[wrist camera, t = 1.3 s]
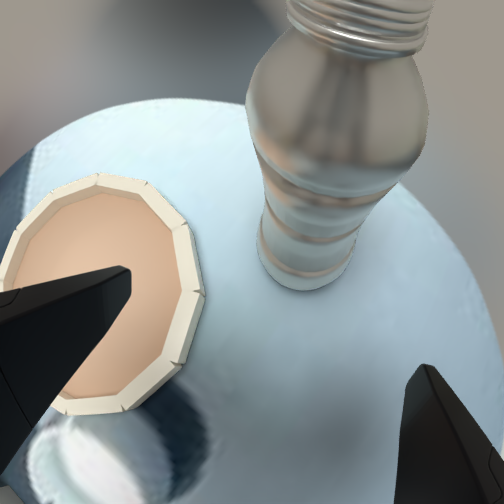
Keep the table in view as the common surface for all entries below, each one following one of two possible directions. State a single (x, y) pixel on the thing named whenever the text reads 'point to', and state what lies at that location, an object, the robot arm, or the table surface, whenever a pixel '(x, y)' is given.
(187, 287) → the round tray
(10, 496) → the lighter
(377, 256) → the table surface
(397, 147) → the plastic bottle
